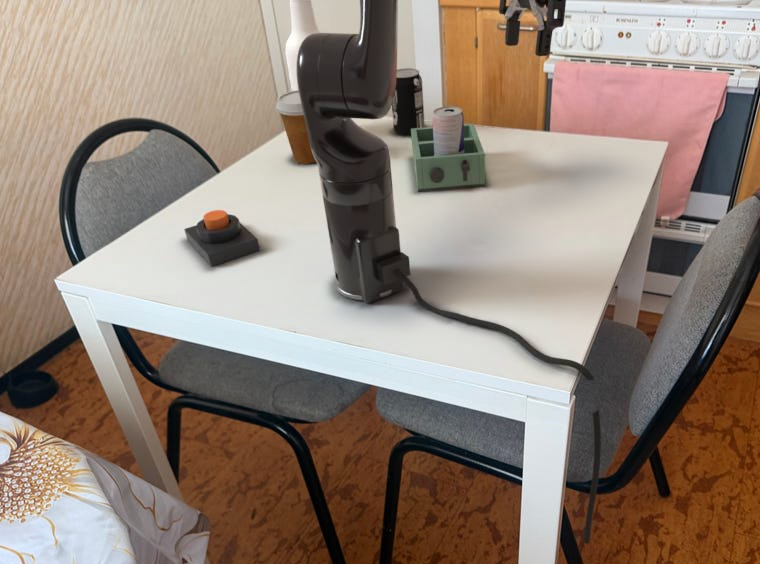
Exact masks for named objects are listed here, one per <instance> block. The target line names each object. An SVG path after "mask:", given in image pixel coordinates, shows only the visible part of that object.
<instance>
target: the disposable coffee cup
mask: <svg viewBox="0 0 760 564" xmlns="http://www.w3.org/2000/svg"><path fill="white" fill-rule="evenodd" d="M275 108H276V110H277V111H278V113H279V114H280V118H281V121H282V124H283V128H284V131H285V134H286V137H287V141H288V142H289V146H290V150H291V153H292V156H293V159H294V161H295V163H297V164H298V163H299V164H305V165H308V164H309V165H310V164H315V163H316V164H317V162H316V160H315V158H314V156H313V153H312V150H311V147H310V142H309V137H308V132H307V127H306V122H305V118H304V114H303V109H302V105H301V100H300V95H299V90H296V91H292V90H291V91H288V92H284V93H282V94H280V95H279V96H277V100H276V104H275Z"/></svg>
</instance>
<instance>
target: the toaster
mask: <svg viewBox="0 0 760 564" xmlns="http://www.w3.org/2000/svg"><path fill="white" fill-rule="evenodd" d="M410 136H411V137H410V139H411V149H412V161H413V169H414V175H415V181H416V183H415V184H416V191H417V192H418V193H422V192H432V191H435V192H436V191H447V190H456V189H457V190H459V189H471V188H481V187H482V188H483V187H485V186H486V153H485V151H484V148H483V145H482V143H481V140H480V136H479V134H478V131H477V129H476V126H475V124H474V123H464V154H454V155H442V156H434V138H433V126H427V127H426V126H425V127H424V128H412V129H411V135H410Z"/></svg>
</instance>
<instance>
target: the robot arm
mask: <svg viewBox="0 0 760 564" xmlns="http://www.w3.org/2000/svg"><path fill="white" fill-rule="evenodd" d="M507 4H508V5H507ZM566 4H567V0H508V2H507V0H499V6H498V7H499V8H498V12H499V14H500V15H503V16H504V20H505V21H506V25H505V34H504V44H505V45H506V46H508V47H514V46H518V44H519V40H520V30H521V20H520V19H522V17H523V14H524V13H525V11H527V10H529V11H531V13H532V16H533V17H535V18H536V23H537V26H538V29H537V34H536V41H535V50H534V51H535V52H534V53H535V54H534V55H536V56H538V57H548V55H549V54H550V51H551V45H552V38H553V31H554V30H555V29H557V28H562V27H563V26H564V24H565V16H566V15H565V13H566V7H567V6H566ZM359 9H360V11H359V14H360V19H359V20H360V23H359V32H358V33H340V32H339V33H337V32H320V33H315V34H311V35H309V36H307V37H306V38H305V39H304V40H303V42H302V44H301V46H300V48H299V51H298V56H297V83H298V90H299V95H300V100H301V105H302V109H303V114H304V118H305V122H306V127H307V132H308V137H309V142H310V147H311V150H312V153H313V156H314V158H315V160H316V164H317V169H318V176H319V182H320V188H321V193H322V202H323V207H324V213H325V219H326V227H327V232H328V238H329V239H328V240H329V245H330V250H331V257H332V262H333V263H332V265H333V270H334V275H335V285H336V286H335V287H336V290H337V291H338V293H339V294H340V295H341V296H343V297H345V298H347V299H351V300H356V301H362V302H363V303H365V304H371V303H373V302H376V301H378V300H380V299H383V298H385V297H386V298H387V297H388V296H390V295H393V294H395V293H398V292H400V291H402V290H404V289H405V286H406V287H407V288H408V289H409V290H410V291H411V293H412V295H413V297H414V299H415V300H416V302H417V303H418V304H419V305H420V306H421V307H422V308H423V309H424V310H426V311H428V312H431V313H432V314H433V313H434V314H436V315H439V316H441V317H444V318H449V319H454V320H456V321H457V320H458V321H461V322H463V323H467V324H471V325H475V326H480V327H484V328H488V329H491V330H494V331H498V332H501V333H503V334H505V335H507V336H508V337H510V338H512V339H514V340H515V341H516V342H517V343H518V344H519V345H521V346H522V347H523V348H524V349H525V350H526V351H527V352H528V353H529V354H531V355H532V356H533V357H535V358H537V359H538V360H540V361H542V362H545V363H548V364H553V365H557V366H564V367H570V368H571V369H575V370H577V371H578V372H579V373H580V374H582V375H583V376H584V378H585V379H586V380H588V381H594V380H595V379H594V376H593V375H592V373H591V372H590V371H589V369H588V368H586V366H584V365H583V364H581V363H579V362H577V361H575V360H572V359H567V358H560V357H553V356H550V355H547V354H544V353H542V352H541V351H539V350H538V349H536V348H535V347H534V346H533V345H531V344H530V343H529V342H528V341H527V340H526V339H525V338H524V337H522V336H521V335H520V334H519V333H517V331H514V330H513V329H510V328H509V327H507V326H504V325H501V324H499V323H497V322H491V321H488V320H483V319H479V318H474V317H471V316H467V315H464V314H461V313H457V312H454V311H448V310H443V309H440V308H437V307H435V306H433V305H431V304H430V303H428V302H426V301H425V300H424V299H423V297H422V296H421V293H420V292H419V290H418V288H417V287H416V285H414V283H413V282H412V281H411V280H410V279H409V277H410V276H411V264H410V263H411V262H410V256H408V255H407V254H406V253H404V252H403V251H402V250H401V240H400V231H399V229H398V227H397V222H396V221H397V220H396V219H397V218H396V210H395V209H396V208H395V199H394V189H393V177H392V166H391V163H392V162H391V153H390V149H389V146H388V144H387V143H386V142H385V141H384V140H383V138H380V137H378V136H377V135H375V134H373V133H371V132H368V131H367V130H365V129H364V128H362V127H361V126H360V125H358V124H357V123H356V122H355V121H354V120H353V119H360V120H381V119H383V118H384V117H385V116H387V114H388V113H389V111H390V110H391V109H392V102H393V98H394V93H395V87H396V76H397V70H398V28H399V27H398V19H399V18H398V17H399V16H398V14H399V0H359ZM556 10H557V11H556ZM555 12H556V14H557V15H556V17H555ZM545 18H546V19H545ZM600 417H601V416H600V409H597V410H596V411H593V412H592V424H593V440H594V441H593V442H594V443H593V444H594V445H593V467H592V477H591V485H590V491H589V498H588V504H587V510H586V517H585V524H584V534H583V543H584V544H589V543H590V541H591V532H592V525H593V524H592V523H593V516H594V510H595V503H596V497H597V491H598V485H599V478H600V470H601V468H600V467H601V454H602V438H601V437H602V436H601V435H602V434H601V432H602V431H601V419H600Z"/></svg>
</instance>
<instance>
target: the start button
mask: <svg viewBox="0 0 760 564" xmlns="http://www.w3.org/2000/svg"><path fill="white" fill-rule="evenodd" d="M227 214H228V211H226V210H222V209H216V210H210V211H208V212H206V213H205V214H204V215H203V217H202V218H203V219H204V222H205V225H206V228H207V229H209V230H216V229H221V228H224V227H226V226H228V225H229V219H228V215H227Z"/></svg>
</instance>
